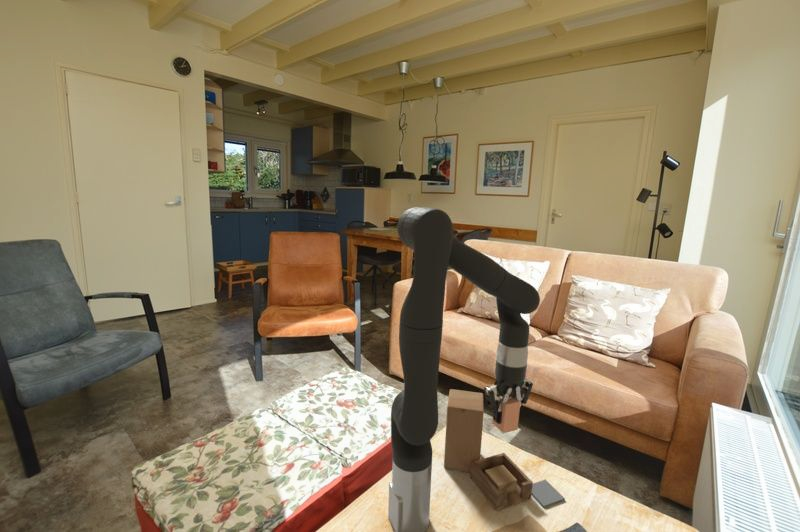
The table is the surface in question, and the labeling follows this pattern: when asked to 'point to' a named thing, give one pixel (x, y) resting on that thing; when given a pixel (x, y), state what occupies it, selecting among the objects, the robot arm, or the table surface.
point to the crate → (501, 481)
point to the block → (509, 416)
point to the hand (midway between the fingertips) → (505, 420)
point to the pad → (546, 493)
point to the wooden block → (463, 429)
